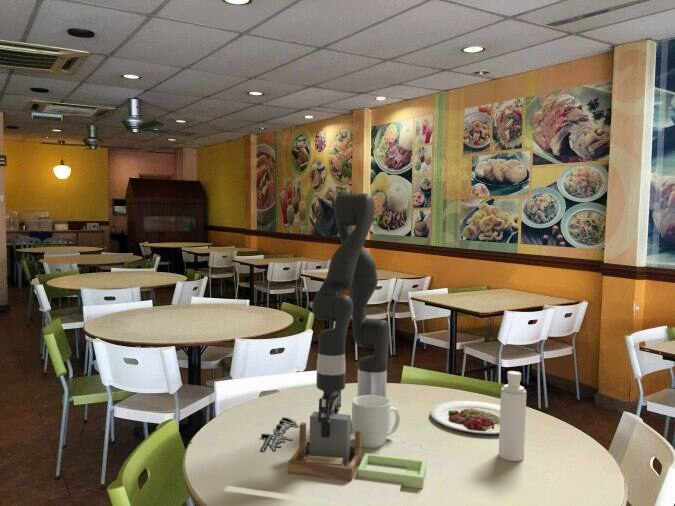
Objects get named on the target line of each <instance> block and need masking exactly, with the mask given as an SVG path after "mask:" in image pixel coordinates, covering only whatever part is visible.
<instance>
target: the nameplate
mask: <svg viewBox="0 0 675 506" xmlns="http://www.w3.org/2000/svg"><path fill="white" fill-rule="evenodd" d="M290 428H293V429H294V428H295V429H300V425H298V424H297V422H296V421H295V420H294V419H293V418H290V417H284V416H283V417H281V419H279V424H277V425H276V426H275V430H273V433H272V434H271V433H261V439H264V438H267V439H265V440H264V443H263V445H262V446H261V448H260V450H259V452H260V453H265V452H266V450H267V448H268V447H269V449H271V451H272V452H273V453H274V452H277V450H276V449H280V448H282V446H281V445H280V444H281V443H283V444H284V443H286V441H290V442H292V441H293V439H291V438H290V437H287V436H284V434H285V433H287V430H289V429H290ZM278 429H279V430H278ZM271 441H272V442H271ZM270 442H271V443H270Z"/></svg>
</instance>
